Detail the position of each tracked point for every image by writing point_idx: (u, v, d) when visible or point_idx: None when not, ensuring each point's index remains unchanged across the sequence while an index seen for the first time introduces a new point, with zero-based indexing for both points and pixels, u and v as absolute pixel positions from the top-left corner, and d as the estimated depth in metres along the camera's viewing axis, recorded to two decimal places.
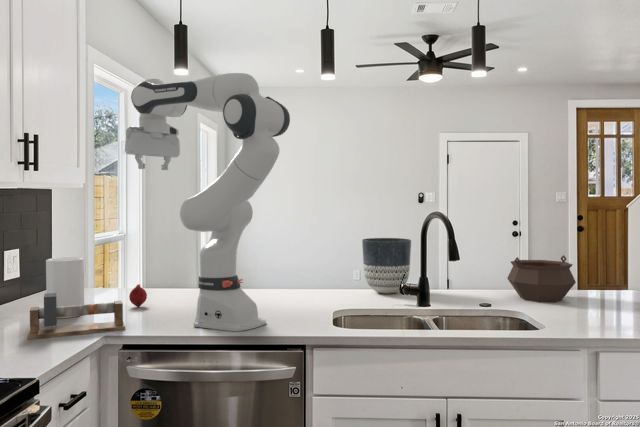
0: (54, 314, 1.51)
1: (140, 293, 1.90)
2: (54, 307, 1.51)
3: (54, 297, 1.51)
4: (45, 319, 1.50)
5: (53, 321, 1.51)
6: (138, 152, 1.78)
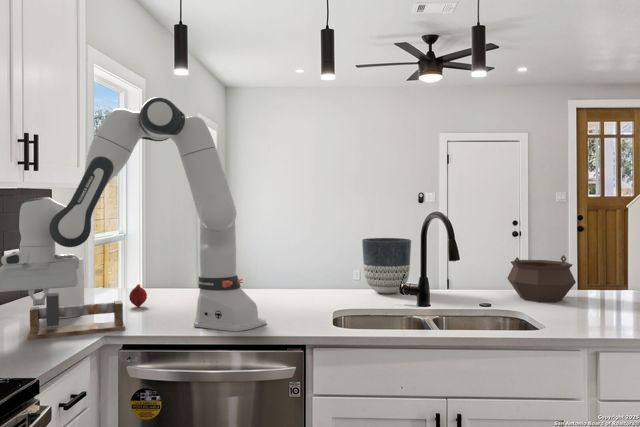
0: (56, 314, 1.52)
1: (140, 293, 1.90)
2: (57, 307, 1.52)
3: (56, 297, 1.51)
4: (47, 319, 1.51)
5: (55, 321, 1.52)
6: None
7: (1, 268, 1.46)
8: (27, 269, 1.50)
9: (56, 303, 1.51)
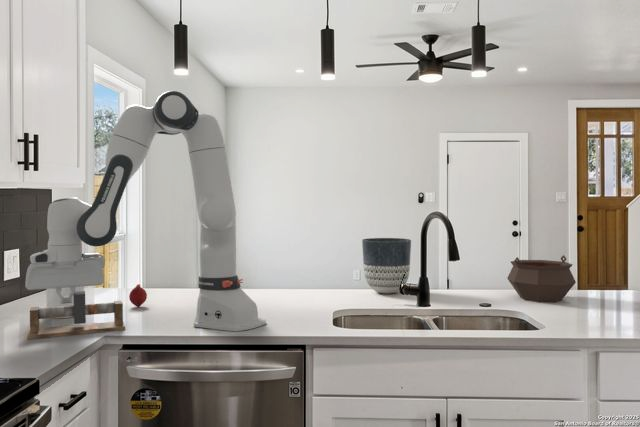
0: (83, 312, 1.54)
1: (140, 293, 1.90)
2: (84, 304, 1.55)
3: (83, 295, 1.54)
4: (75, 316, 1.54)
5: (82, 318, 1.54)
6: None
7: (30, 267, 1.49)
8: (55, 268, 1.52)
9: (83, 301, 1.54)
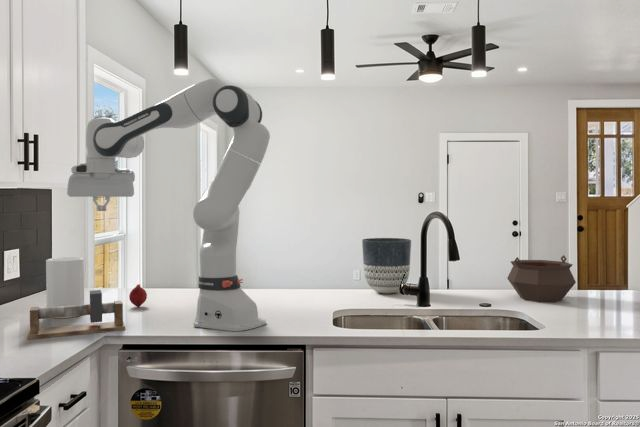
0: (100, 310, 1.56)
1: (140, 293, 1.90)
2: (100, 303, 1.56)
3: (100, 294, 1.56)
4: (92, 315, 1.55)
5: (99, 317, 1.56)
6: None
7: (71, 176, 1.72)
8: (92, 178, 1.75)
9: (100, 300, 1.56)
